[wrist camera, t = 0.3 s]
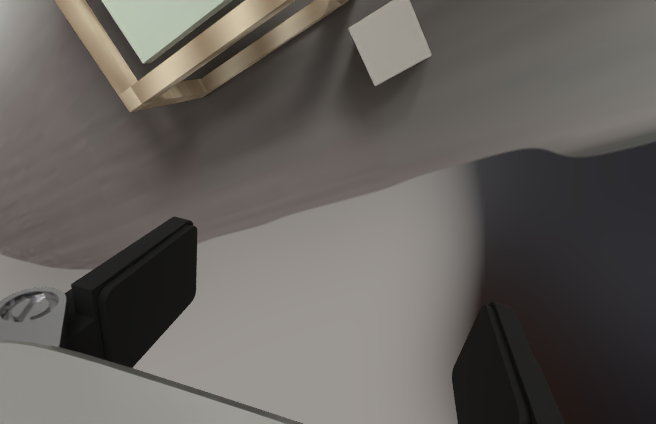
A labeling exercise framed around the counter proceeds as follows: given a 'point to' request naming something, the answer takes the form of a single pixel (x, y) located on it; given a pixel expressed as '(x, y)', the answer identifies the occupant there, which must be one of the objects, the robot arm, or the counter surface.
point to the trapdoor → (159, 22)
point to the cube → (390, 40)
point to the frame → (192, 50)
